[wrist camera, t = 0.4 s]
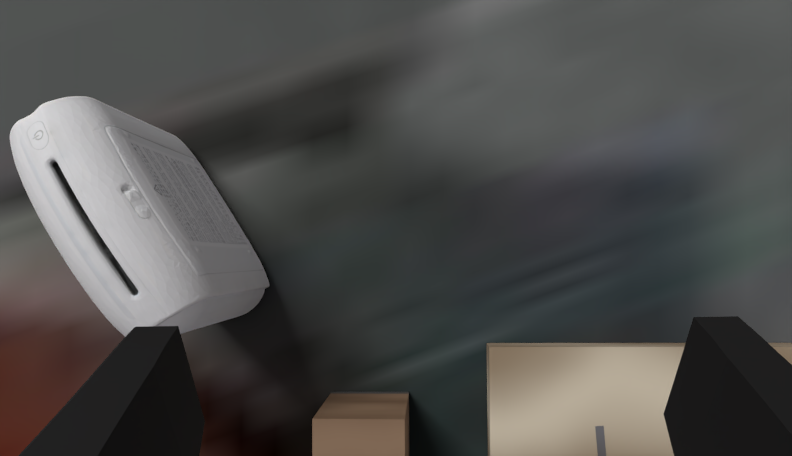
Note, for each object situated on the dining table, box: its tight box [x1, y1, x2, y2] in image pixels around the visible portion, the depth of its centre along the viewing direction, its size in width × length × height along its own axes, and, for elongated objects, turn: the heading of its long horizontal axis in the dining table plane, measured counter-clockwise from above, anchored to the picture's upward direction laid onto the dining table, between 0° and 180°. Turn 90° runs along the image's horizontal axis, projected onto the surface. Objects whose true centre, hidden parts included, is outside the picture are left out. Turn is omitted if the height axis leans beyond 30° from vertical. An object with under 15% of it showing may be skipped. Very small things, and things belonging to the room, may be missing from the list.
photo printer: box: [10, 96, 270, 337], centre depth 31 cm, size 10×4×12 cm, turn 33°
